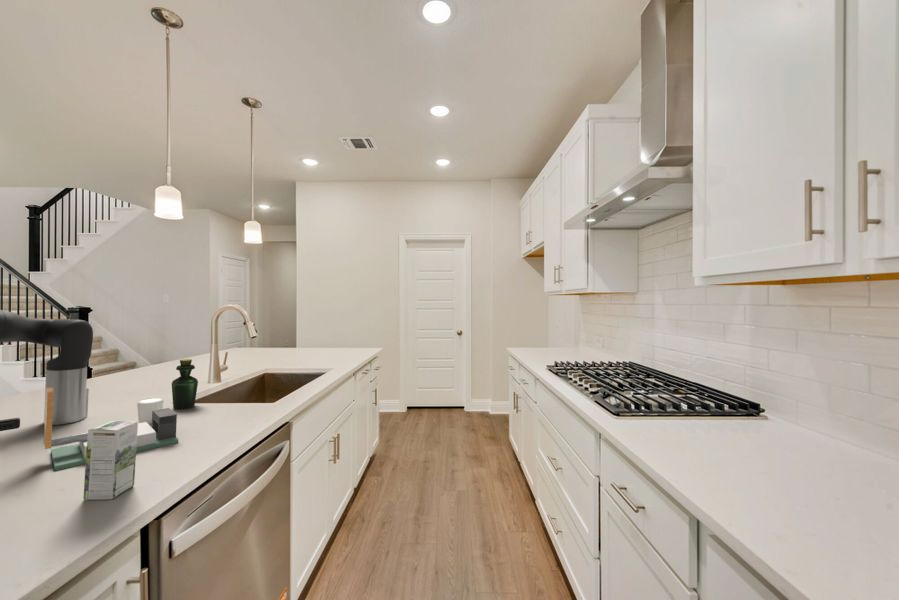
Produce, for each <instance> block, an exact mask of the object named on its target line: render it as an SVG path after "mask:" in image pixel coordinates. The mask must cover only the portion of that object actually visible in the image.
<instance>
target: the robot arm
mask: <svg viewBox="0 0 899 600" xmlns="http://www.w3.org/2000/svg"><path fill="white" fill-rule="evenodd" d="M93 340H94V330H93V327H92V325H91V323H90V322H88V321H86V320H84V319H83V320H82V319H74V318H73V319H67V318H54V319H53V318H36V317H35V318H33V317H28V316H23V315H20V314H17V313H15V312H12V311H7V310H5V309H0V343H9V342H11V343H12V342H23V343H24V342H25V343H30V344H38V345H43V346H49V347H54V348H60V350H59V354H58V355H57V356H56V357H54V358H52V359H49V360H48V361H47V362H46V366H45V368H46V369H45V386H44V387H45V389H44V390H45V391H44V393H45V394H44V410H43V411H44V413H43V424H44V425H45V407H46V388H51V387H52V388H53V391H54V397H53V419H52V426H55V425H56V426H57V425H58V426H59V425H66V424H72V423H76V422H80V421H82V420H84V419H85V418H86V417H88V414H89V412H88V411H89V393H90V391H89V390H90V389H89V388H87V378H88V362H89V360H90V358H91V357H92V349H93ZM20 427H21V418H19V417H13V418H7V419H2V420H1V419H0V432H3V431H10V430H16V429H19V428H20Z"/></svg>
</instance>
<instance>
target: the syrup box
mask: <svg viewBox="0 0 899 600" xmlns="http://www.w3.org/2000/svg"><path fill="white" fill-rule="evenodd" d="M138 423H139V421H132V420H112V421H108V422H107V423H104V424H101V425H99V426H96V427H93V428H91V429H88V431H87V433H88V436H87V451H86V464H85V469H84V470H85V471H84V482H83V483H84V485H83V486H84V487H83V500H84V501H85V500H86V501H90V500H91V501H92V500H93V501H100V500H101V501H102V500H103V501H105V500H114V499H115V498H117V497H118V496H120V495H122V494H123V493H124V492H126V491H128V490H129V489H131V488H132V487H134V486H135V477H136V476H135V475H136V460H137V452H136V446H137V429H138Z"/></svg>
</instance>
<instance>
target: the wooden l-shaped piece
mask: <svg viewBox="0 0 899 600" xmlns="http://www.w3.org/2000/svg"><path fill="white" fill-rule="evenodd" d="M53 397H54V391H53V388H52V387H51V388H46V407H45V406H44V408H45V424H44V433H43V435H44V436H43V446H44V450H49V449H52V447H58V446H59V447H60V446H64V445H68V444H69V445H70V444H73V443H79V442H80V441H85V440H87V436H88V432H86V433H87V434H82V433H80V434H81V435H80V434H77V435H70V436H66V437H60V438H55V439H53V425H52V419H53Z"/></svg>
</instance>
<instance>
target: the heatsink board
mask: <svg viewBox="0 0 899 600" xmlns="http://www.w3.org/2000/svg"><path fill="white" fill-rule="evenodd" d="M177 419H178V414H177V413H176V412H175V411H173V410H172V409H171V408H170V407H168V408H167V407H166V408H162V409H160V410H154V411H152V423H151V424H148V423H147V422H143V423H139V422H138V429H137V446H136V453H138V452H143V451H146V450H151V449H155V448H156V449H157V448H160V447H165V446H169V445H174V444H178V443H179V438H178V437H177V423H178V422H177ZM87 433H88V432H83V433H79V435H81V434H87ZM50 449H51V450H50V453H51V455H50V456H51V460H52V463H53V464H52V465H53V469H54V471H58V470H59V471H60V470H63V469H68V468H72V467H76V466H81V465H86V451H87V440H85V441H80V442H78V443H77V444H74V445H73V444H72V445H67V446H62V447H56V448H53V449H52V448H50Z"/></svg>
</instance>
